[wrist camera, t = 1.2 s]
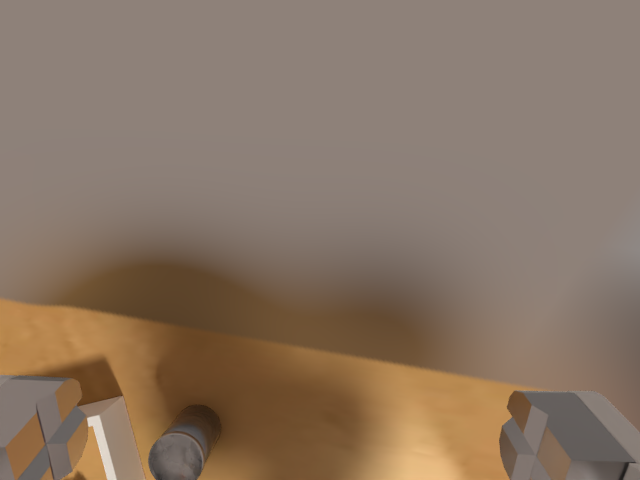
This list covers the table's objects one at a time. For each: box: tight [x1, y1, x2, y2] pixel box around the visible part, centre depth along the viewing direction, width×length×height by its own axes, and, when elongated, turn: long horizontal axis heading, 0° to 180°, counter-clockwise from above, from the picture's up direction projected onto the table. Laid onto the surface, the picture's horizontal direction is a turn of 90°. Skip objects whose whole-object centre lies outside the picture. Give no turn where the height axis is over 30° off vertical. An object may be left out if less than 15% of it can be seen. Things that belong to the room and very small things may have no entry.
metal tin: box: [148, 405, 221, 480], centre depth 45 cm, size 6×6×7 cm
